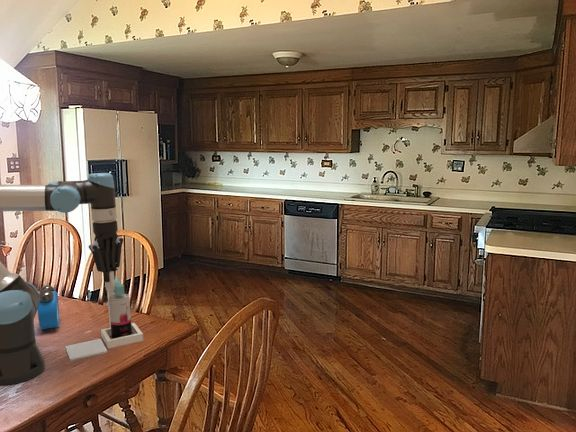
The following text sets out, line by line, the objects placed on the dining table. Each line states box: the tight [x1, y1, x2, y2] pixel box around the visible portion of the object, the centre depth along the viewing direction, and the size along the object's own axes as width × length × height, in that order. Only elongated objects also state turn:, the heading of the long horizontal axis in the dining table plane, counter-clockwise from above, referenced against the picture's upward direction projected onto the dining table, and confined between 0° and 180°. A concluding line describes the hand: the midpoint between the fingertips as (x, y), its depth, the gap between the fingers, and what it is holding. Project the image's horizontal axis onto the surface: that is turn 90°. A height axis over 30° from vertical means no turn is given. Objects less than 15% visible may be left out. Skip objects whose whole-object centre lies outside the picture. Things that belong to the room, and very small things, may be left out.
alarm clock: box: [37, 284, 60, 331], centre depth 175 cm, size 13×6×15 cm, turn 23°
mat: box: [65, 338, 108, 362], centre depth 157 cm, size 11×11×1 cm
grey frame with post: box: [100, 290, 144, 350], centre depth 168 cm, size 11×18×16 cm, turn 31°
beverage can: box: [109, 293, 133, 339], centre depth 165 cm, size 6×7×15 cm
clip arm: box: [113, 275, 126, 296], centre depth 168 cm, size 4×15×3 cm, turn 32°
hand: (110, 290), depth 162 cm, fingers closed
